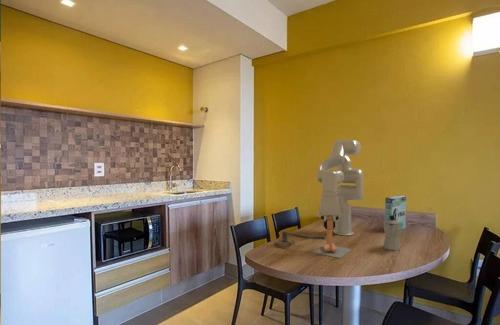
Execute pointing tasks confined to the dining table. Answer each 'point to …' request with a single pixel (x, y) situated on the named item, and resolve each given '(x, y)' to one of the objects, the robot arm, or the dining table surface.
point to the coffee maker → (391, 234)
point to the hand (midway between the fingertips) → (329, 228)
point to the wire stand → (287, 243)
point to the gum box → (396, 209)
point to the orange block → (329, 237)
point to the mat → (333, 252)
